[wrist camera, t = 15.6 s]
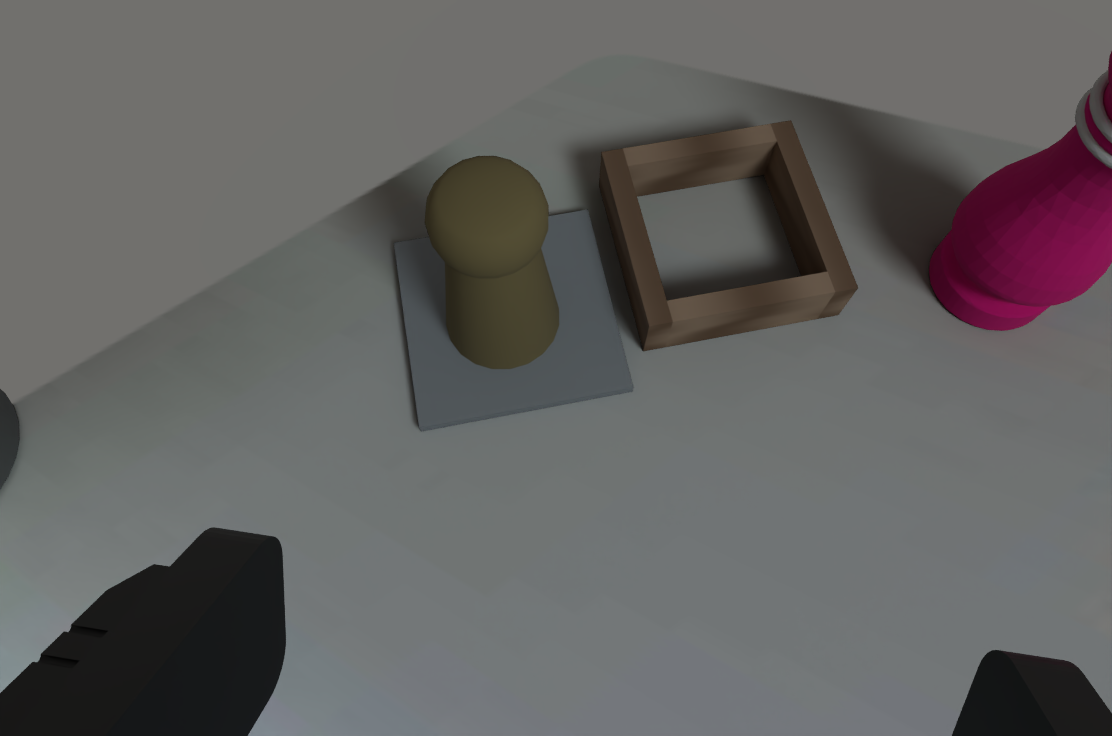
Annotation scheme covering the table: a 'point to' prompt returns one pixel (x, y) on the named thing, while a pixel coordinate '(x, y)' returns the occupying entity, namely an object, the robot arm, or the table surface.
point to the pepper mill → (1033, 227)
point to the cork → (493, 261)
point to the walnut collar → (713, 162)
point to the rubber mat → (550, 380)
